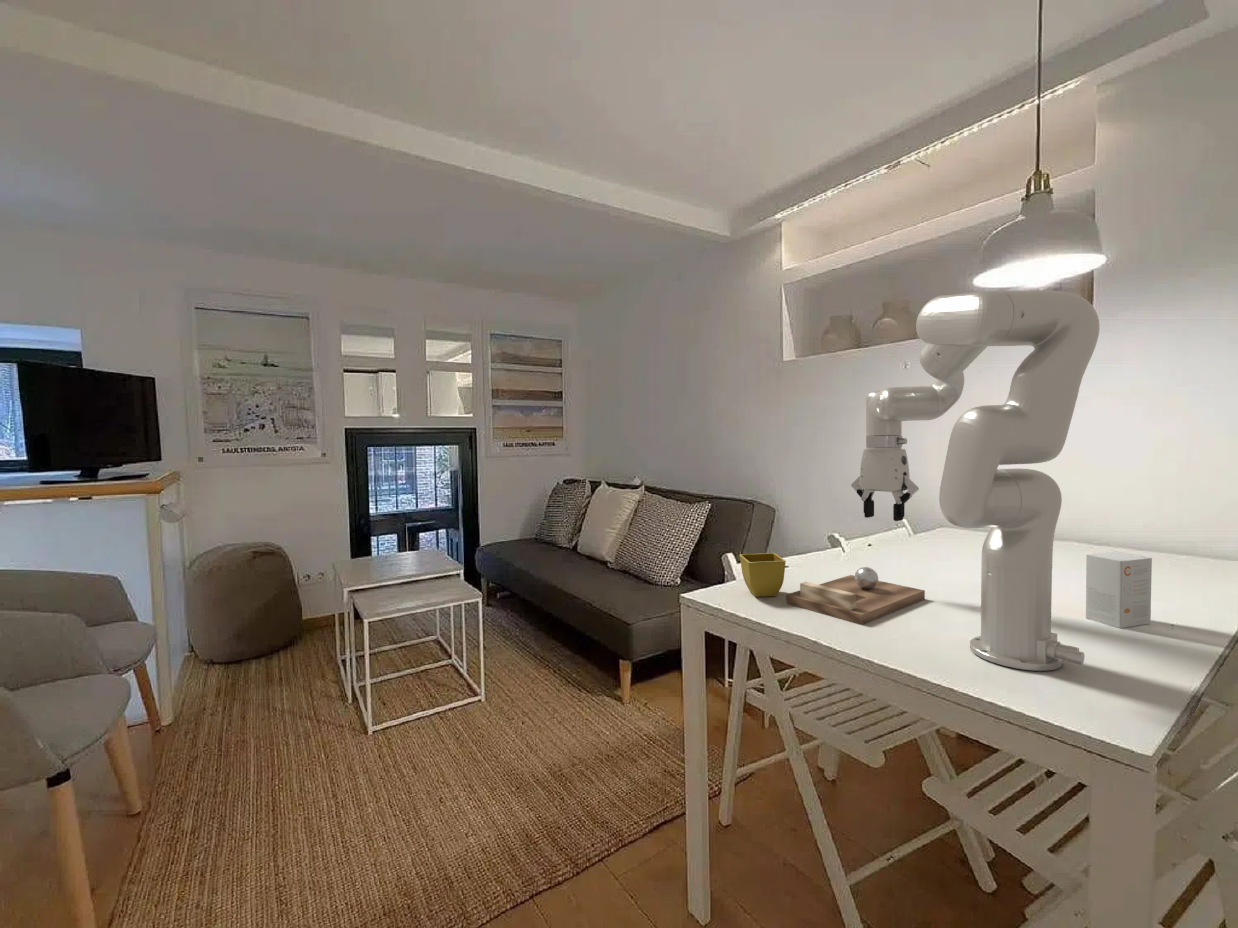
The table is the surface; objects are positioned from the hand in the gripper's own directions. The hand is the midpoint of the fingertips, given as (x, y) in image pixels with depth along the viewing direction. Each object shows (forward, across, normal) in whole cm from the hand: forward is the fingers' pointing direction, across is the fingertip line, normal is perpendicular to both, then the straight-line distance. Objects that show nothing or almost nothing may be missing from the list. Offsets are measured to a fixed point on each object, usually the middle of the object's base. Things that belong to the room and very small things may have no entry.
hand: (883, 518), depth 128 cm
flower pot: (+18, +17, +24) cm, 34 cm away
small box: (+18, -39, -14) cm, 45 cm away
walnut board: (+18, 0, +12) cm, 21 cm away
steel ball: (+13, 0, +8) cm, 15 cm away
